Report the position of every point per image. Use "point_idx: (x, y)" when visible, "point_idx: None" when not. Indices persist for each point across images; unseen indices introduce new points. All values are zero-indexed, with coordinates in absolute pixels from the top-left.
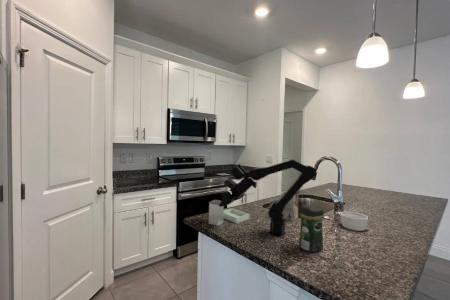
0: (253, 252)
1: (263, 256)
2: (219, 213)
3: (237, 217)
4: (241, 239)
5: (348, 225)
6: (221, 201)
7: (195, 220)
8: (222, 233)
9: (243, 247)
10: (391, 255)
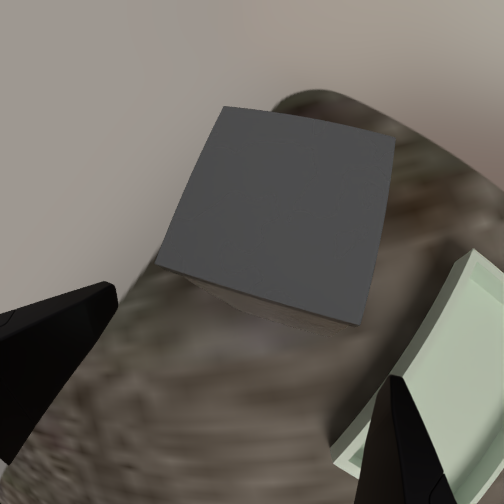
0: (8, 477)
1: (3, 497)
2: (232, 301)
3: (351, 468)
4: (74, 464)
5: None
6: (21, 312)
7: None
8: (114, 362)
9: (21, 453)
10: None
